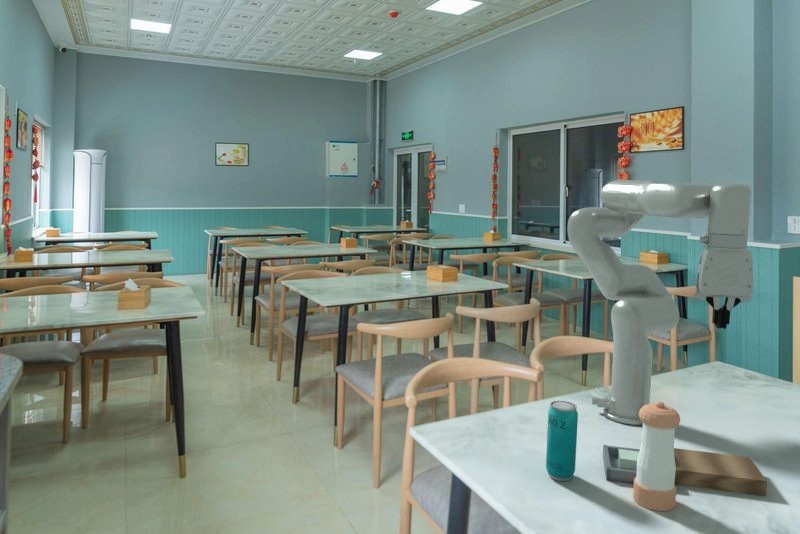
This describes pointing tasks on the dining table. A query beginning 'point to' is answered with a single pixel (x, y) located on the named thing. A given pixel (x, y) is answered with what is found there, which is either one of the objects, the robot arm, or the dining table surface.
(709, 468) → the board
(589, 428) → the dining table surface
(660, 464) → the salt shaker
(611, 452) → the tray
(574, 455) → the beverage can
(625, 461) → the tile
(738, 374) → the dining table surface
